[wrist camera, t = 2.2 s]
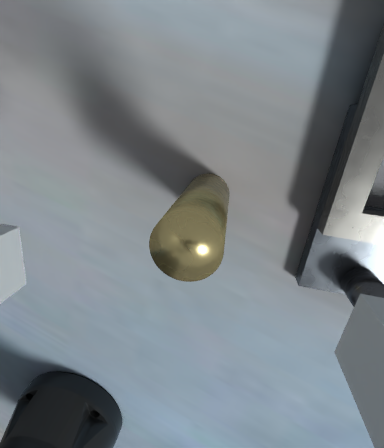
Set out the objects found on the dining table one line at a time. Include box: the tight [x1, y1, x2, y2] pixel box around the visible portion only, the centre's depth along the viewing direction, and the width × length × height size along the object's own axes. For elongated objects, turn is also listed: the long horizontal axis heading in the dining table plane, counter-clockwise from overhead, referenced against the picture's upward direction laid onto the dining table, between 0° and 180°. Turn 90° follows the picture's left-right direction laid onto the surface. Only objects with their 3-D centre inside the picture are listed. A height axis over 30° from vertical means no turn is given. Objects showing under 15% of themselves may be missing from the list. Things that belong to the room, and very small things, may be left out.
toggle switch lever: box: [149, 174, 229, 282], centre depth 19 cm, size 4×4×12 cm
